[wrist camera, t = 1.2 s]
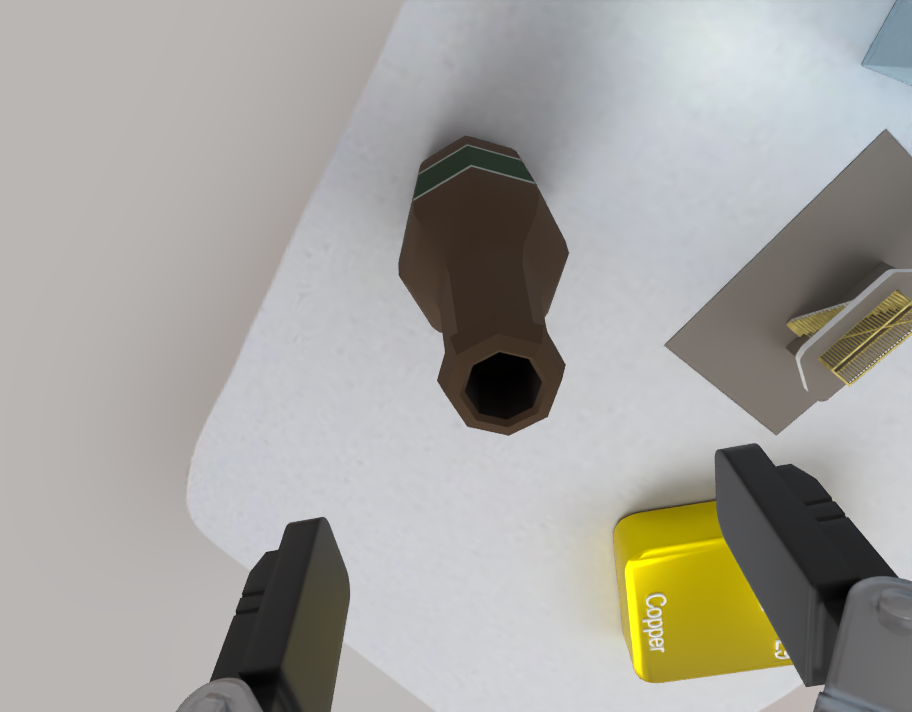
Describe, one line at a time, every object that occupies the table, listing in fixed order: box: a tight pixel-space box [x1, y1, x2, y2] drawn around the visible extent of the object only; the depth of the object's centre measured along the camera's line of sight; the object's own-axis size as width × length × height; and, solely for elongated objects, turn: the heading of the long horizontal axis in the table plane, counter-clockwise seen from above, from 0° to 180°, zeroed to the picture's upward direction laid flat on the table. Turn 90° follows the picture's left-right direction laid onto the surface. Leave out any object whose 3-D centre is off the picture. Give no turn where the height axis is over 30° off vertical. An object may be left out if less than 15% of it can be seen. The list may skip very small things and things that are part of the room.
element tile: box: [613, 501, 794, 683], centre depth 51 cm, size 15×15×5 cm
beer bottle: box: [398, 136, 569, 436], centre depth 29 cm, size 8×8×24 cm
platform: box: [665, 130, 912, 435], centre depth 40 cm, size 12×18×7 cm, turn 142°
